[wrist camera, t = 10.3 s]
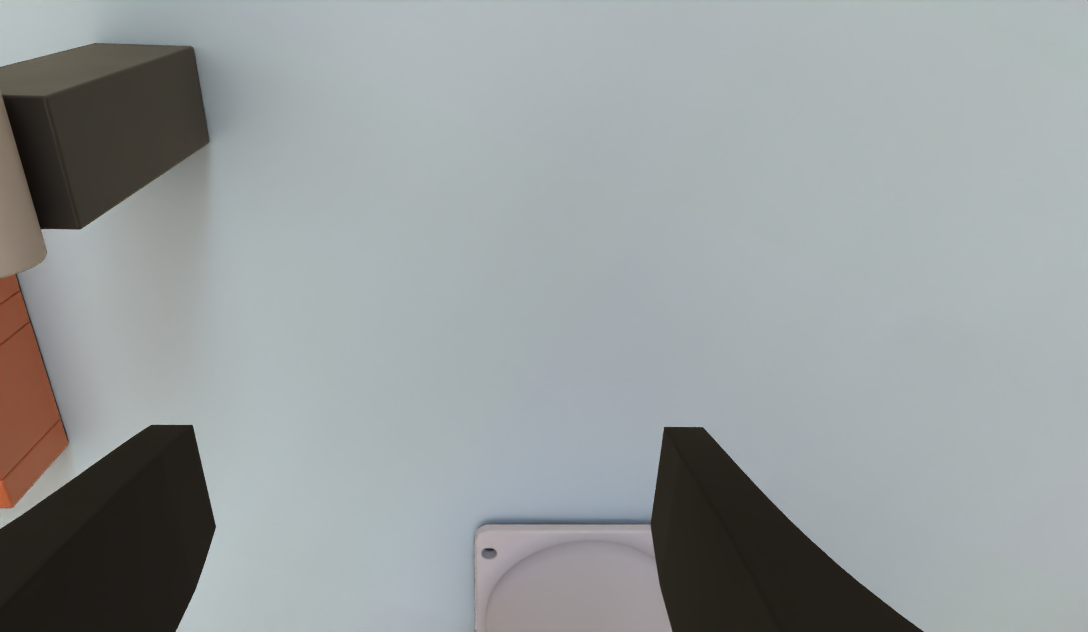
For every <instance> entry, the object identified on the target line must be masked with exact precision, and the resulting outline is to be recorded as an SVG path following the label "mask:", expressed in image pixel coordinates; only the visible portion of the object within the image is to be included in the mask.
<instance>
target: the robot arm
mask: <svg viewBox="0 0 1088 632" xmlns="http://www.w3.org/2000/svg"><path fill="white" fill-rule="evenodd" d="M215 528H216V525H215V521H214V517H213V512H212V508H211V503H210V499H209V495H208V490H207V486H206V481H205V477H204V473H203V468H202V464H201V460H200V455H199V451H198V446H197V442H196V438H195V433H194V429H193V425H151V426H149V427H147V428H146V429H144V430H143V431H141V432H139V433H138V434H136V435H135V436H133V437H132V438H130V439H129V440H128V441H126V442H125V443H123V444H122V445H120V446H119V447H118V448H116V449H115V450H113V451H112V452H110V453H109V454H108V455H106V456H105V457H103V458H102V459H101V460H99V461H98V462H96V463H95V464H94V465H92V466H91V467H89V468H88V469H87V470H85V471H84V472H82V473H81V474H80V475H78V476H77V477H75V478H74V479H73V480H71V481H70V482H68V483H67V484H65V485H64V486H63V487H61V488H60V489H58V490H57V491H56V492H54V493H53V494H51V495H50V496H48V497H47V498H46V499H44V500H43V501H41V502H40V503H38V504H37V505H36V506H34V507H33V508H31V509H30V510H28V511H27V512H26V513H24V514H23V515H21V516H20V517H18V518H17V519H15V520H13V521H12V522H10V523H9V524H7V525H6V526H4V527H3V528H1V529H0V632H176V630H177V628H178V625H179V623H180V621H181V619H182V617H183V615H184V613H185V611H186V609H187V607H188V604H189V602H190V600H191V598H192V596H193V594H194V592H195V589H196V587H197V584H198V581H199V578H200V575H201V572H202V569H203V566H204V563H205V560H206V557H207V554H208V551H209V548H210V544H211V541H212V538H213V535H214V532H215ZM486 548H492V549H494V550H492V551H487V550H485V549H486ZM475 632H923V631H922V630H921V629H919V628H918V627H916V626H915V625H914V624H912V623H911V622H910V621H908V620H907V619H905V618H904V617H903V616H901V615H900V614H899V613H897V612H896V611H895V610H894V609H892V608H891V607H890V606H888V605H887V604H886V603H885V602H883V601H882V600H881V599H880V598H878V597H877V596H876V595H874V594H873V593H872V592H871V591H869V590H868V589H867V588H866V587H864V586H863V585H862V584H860V583H859V582H858V581H857V580H856V579H854V578H853V577H852V576H851V575H850V574H848V573H847V572H846V571H845V570H844V569H842V568H841V567H840V566H839V565H838V564H837V563H836V562H834V561H833V560H832V559H831V558H830V557H829V556H828V555H827V554H826V553H825V552H823V551H822V550H821V549H820V548H819V547H818V546H817V545H816V544H815V543H813V542H812V541H811V540H810V539H809V538H808V537H807V536H806V535H805V534H804V533H803V532H802V531H801V530H800V529H798V528H797V527H796V526H795V525H794V524H793V523H792V522H791V521H790V520H789V519H788V518H787V517H786V516H785V515H784V514H783V513H782V512H781V511H780V510H779V509H778V508H777V507H776V506H775V505H774V504H773V503H772V502H771V501H770V500H769V499H768V498H767V496H766V495H765V494H764V493H763V492H762V491H761V490H760V489H759V488H758V487H757V486H756V485H755V484H754V483H753V482H752V481H751V479H750V478H749V477H748V476H747V475H746V474H745V473H744V472H743V471H742V470H741V469H740V468H739V466H738V465H737V464H736V463H735V462H734V461H733V460H732V459H731V458H730V456H729V455H728V454H727V453H726V452H725V451H724V450H723V449H722V448H721V447H720V445H719V444H718V443H717V442H716V441H715V440H714V439H713V438H712V437H711V436H710V435H709V433H708V432H707V431H706V430H705V429H704V428H703V427H664V433H663V440H662V447H661V454H660V461H659V468H658V476H657V483H656V490H655V497H654V504H653V511H652V519H651V524H489V525H483V526H481V527H479V528H478V530H477V531H476V533H475Z"/></svg>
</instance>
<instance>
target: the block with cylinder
mask: <svg viewBox="0 0 1088 632" xmlns="http://www.w3.org/2000/svg"><path fill="white" fill-rule="evenodd" d="M208 143H209V138H208V132H207V126H206V120H205V114H204V108H203V103H202V97H201V91H200V85H199V79H198V73H197V67H196V61H195V56H194V50H193V47H191V46H165V45H134V44H104V43H94V44H90V45H86V46H82V47H78V48H74V49H70V50H66V51H62V52H58V53H54V54H50V55H46V56H42V57H38V58H34V59H30V60H26V61H22V62H18V63H14V64H10V65H6V66H2V67H0V278H4V277H8V276H11V275H15V274H18V273H20V272H23V271H26V270H28V269H30V268H32V267H34V266H36V265H38V264H39V263H41V262H42V261H43V260H44V259H45V257H46V254H47V250H46V246H45V243H44V239H43V236H42V232H41V229H82V228H83V227H85V226H86V225H88V224H89V223H91V222H92V221H94V220H95V219H97V218H98V217H100V216H101V215H103V214H104V213H105V212H107V211H108V210H110V209H111V208H113V207H114V206H116V205H117V204H119V203H120V202H122V201H123V200H125V199H126V198H128V197H129V196H131V195H132V194H134V193H135V192H137V191H138V190H140V189H141V188H143V187H144V186H146V185H147V184H149V183H150V182H151V181H153V180H154V179H156V178H157V177H159V176H160V175H162V174H163V173H165V172H166V171H168V170H169V169H171V168H172V167H174V166H175V165H177V164H178V163H180V162H181V161H183V160H184V159H186V158H187V157H189V156H190V155H192V154H193V153H194V152H196V151H197V150H199V149H200V148H202V147H203V146H205V145H206V144H208Z"/></svg>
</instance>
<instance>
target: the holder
mask: <svg viewBox="0 0 1088 632" xmlns="http://www.w3.org/2000/svg"><path fill="white" fill-rule="evenodd" d="M19 290H20V287H19V284H18V281H17V278H16V275H11V276H8V277H4V278H0V508H13V507H14V506H15V505H16V504H17V503H18V501H19V500H20V499H21V498H22V497H23V496H24V495H25V493H26V492H27V491H28V490H29V489H30V488H31V487H32V485H33V484H34V483H35V482H36V481H37V480H38V479H39V477H40V476H41V475H42V474H43V473H44V472H45V471H46V469H47V468H48V467H49V466H50V465H51V464H52V463H53V462H54V460H55V459H56V458H57V457H58V456H59V455H60V454H61V452H62V451H63V450H64V449H65V448H66V447H67V446H68V440H67V437H66V434H65V431H64V428H63V424H62V421H61V419H60V415H59V412H58V408H57V405H56V402H55V399H54V396H53V393H52V389H51V386H50V383H49V380H48V377H47V373H46V370H45V367H44V364H43V361H42V358H41V354H40V351H39V348H38V345H37V342H36V339H35V335H34V332H33V329H32V326H31V323H30V322H29V316H28V313H27V310H26V307H25V304H24V300H23V297H22V294H21V292H20V291H19Z"/></svg>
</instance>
